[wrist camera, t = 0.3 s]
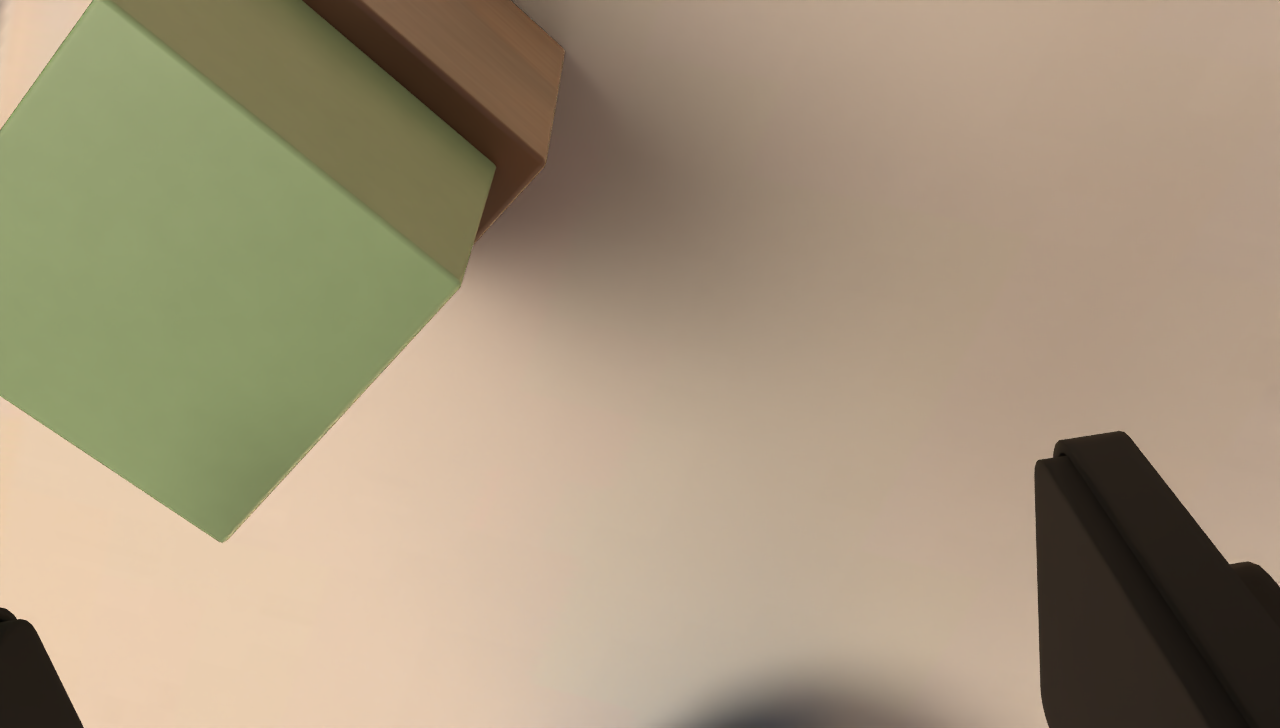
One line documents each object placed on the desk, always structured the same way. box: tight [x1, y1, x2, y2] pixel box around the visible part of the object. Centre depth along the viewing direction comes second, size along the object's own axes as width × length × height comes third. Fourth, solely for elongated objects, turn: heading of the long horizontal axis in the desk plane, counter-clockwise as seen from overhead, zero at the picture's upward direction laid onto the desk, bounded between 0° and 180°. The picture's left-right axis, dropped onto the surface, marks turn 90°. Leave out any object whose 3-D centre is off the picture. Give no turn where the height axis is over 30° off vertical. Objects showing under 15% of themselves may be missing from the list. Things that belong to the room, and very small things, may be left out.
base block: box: [302, 0, 565, 245], centre depth 21 cm, size 6×6×8 cm
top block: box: [0, 0, 496, 543], centre depth 15 cm, size 4×4×4 cm
